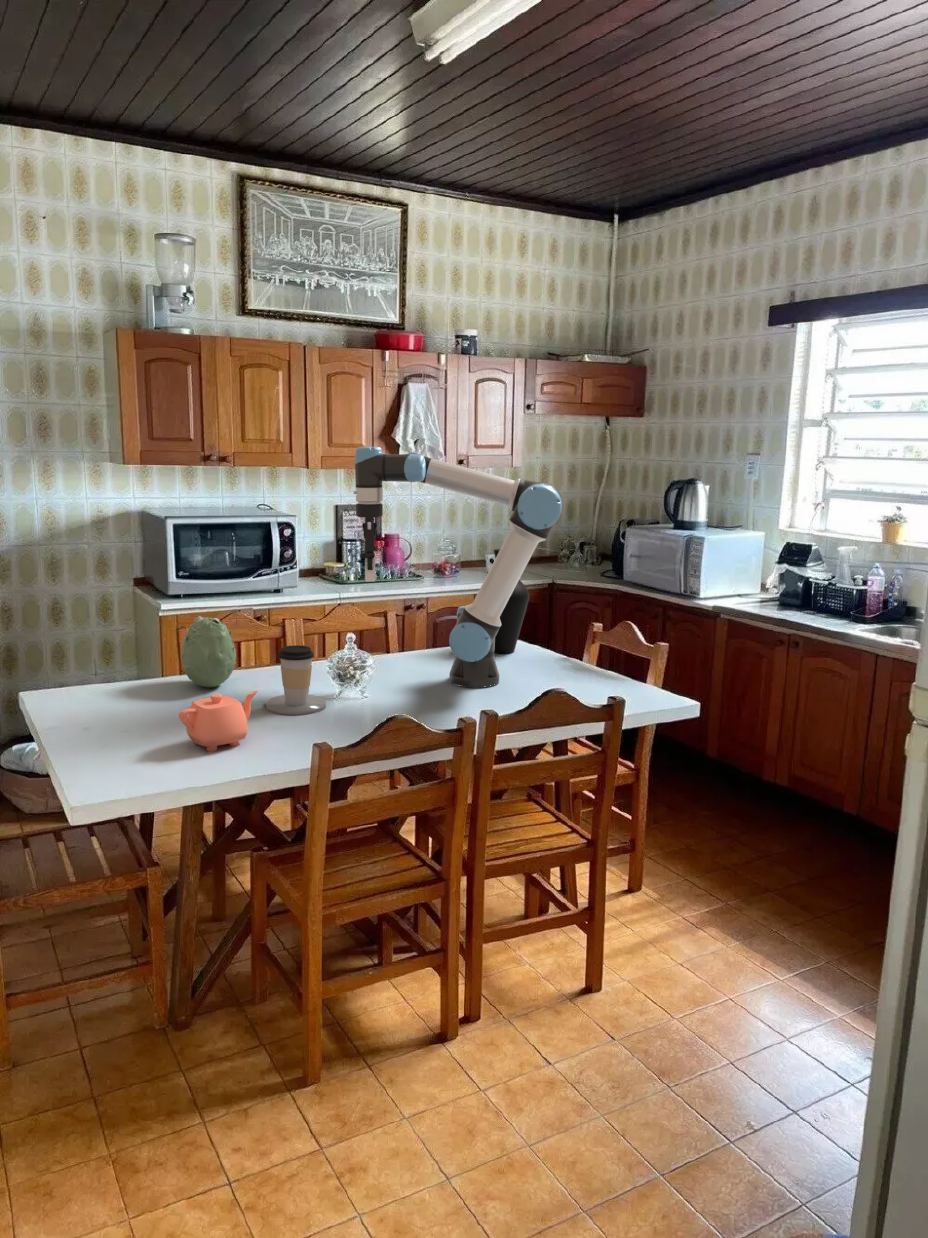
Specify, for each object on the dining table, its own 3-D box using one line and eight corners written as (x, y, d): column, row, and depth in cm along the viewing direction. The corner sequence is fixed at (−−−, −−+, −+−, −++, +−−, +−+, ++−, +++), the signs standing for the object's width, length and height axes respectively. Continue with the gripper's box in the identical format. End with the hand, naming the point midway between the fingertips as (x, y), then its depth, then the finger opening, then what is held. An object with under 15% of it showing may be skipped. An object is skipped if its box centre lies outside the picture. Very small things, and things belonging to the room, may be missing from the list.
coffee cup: (317, 698, 252) (317, 645, 249) (308, 708, 243) (308, 653, 240) (284, 696, 253) (283, 643, 250) (274, 706, 244) (273, 651, 241)
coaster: (328, 698, 256) (328, 694, 256) (322, 715, 241) (322, 712, 241) (270, 697, 256) (270, 693, 255) (261, 714, 240) (261, 711, 240)
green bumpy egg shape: (192, 698, 252) (190, 627, 248) (173, 681, 268) (170, 614, 264) (247, 690, 261) (246, 622, 257) (225, 675, 276) (224, 609, 272)
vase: (505, 659, 305) (509, 555, 298) (466, 650, 316) (470, 549, 309) (536, 651, 318) (541, 551, 311) (498, 643, 329) (502, 546, 322)
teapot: (192, 759, 207) (190, 708, 205) (169, 744, 216) (167, 695, 213) (270, 741, 220) (269, 693, 218) (246, 728, 229) (245, 682, 226)
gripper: (356, 499, 269) (358, 570, 273) (354, 506, 245) (356, 584, 249) (382, 499, 270) (383, 570, 274) (382, 506, 245) (383, 584, 250)
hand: (370, 577), depth 262 cm, fingers open, 13 cm apart
